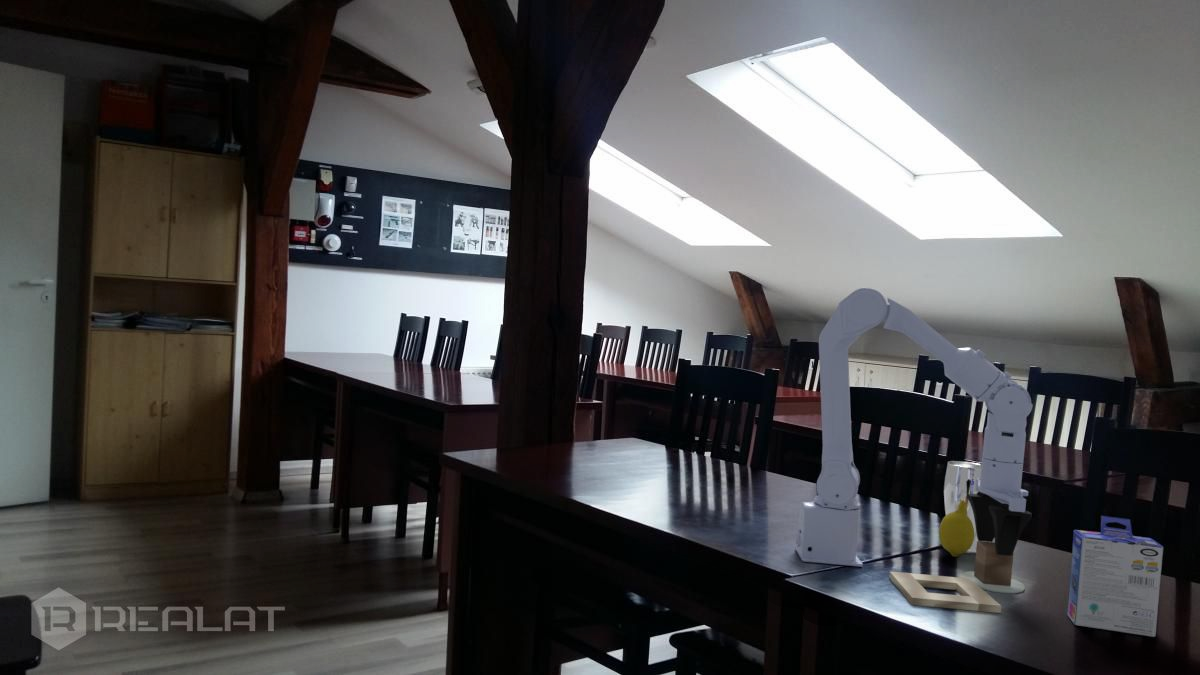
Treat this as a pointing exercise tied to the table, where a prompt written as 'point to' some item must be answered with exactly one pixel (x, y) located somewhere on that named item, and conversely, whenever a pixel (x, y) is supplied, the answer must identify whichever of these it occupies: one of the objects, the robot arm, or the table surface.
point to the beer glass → (961, 490)
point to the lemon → (956, 533)
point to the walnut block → (992, 565)
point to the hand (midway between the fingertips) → (994, 547)
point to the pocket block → (966, 587)
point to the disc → (1014, 588)
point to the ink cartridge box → (1115, 580)
